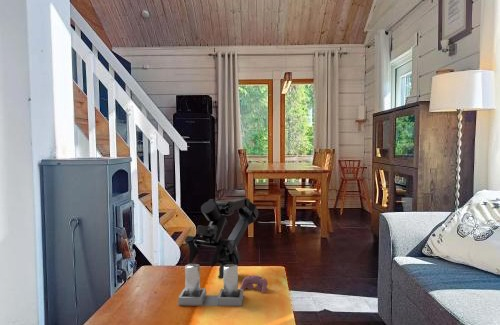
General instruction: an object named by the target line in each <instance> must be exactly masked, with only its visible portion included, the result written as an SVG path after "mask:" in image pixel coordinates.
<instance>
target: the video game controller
mask: <svg viewBox="0 0 500 325" xmlns="http://www.w3.org/2000/svg"><path fill="white" fill-rule="evenodd" d="M241 282H242V283H241V284H240V288H239V289H243V291H244V290H246V289H249V290H254V288H255V290H256V291H260V292H261V295H263V294H265V293H267V287H268V280H267V279H266V278H264V277H262V276H260V275H248V276H247V275H246V276H245V277H244V278H243V280H242V281H241ZM254 285H256V286H254Z"/></svg>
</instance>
